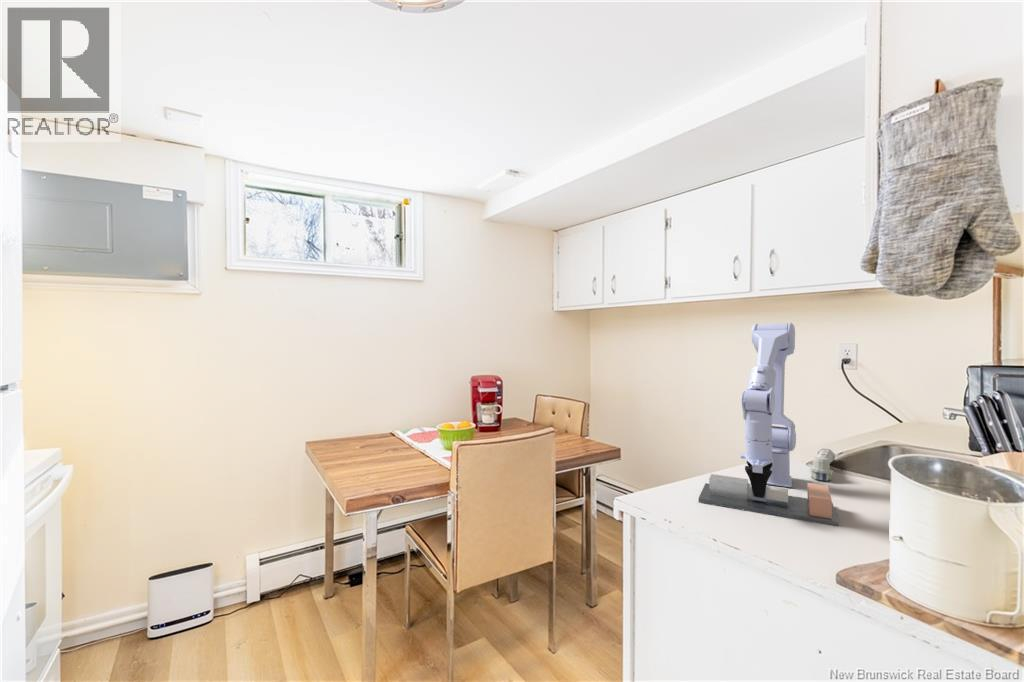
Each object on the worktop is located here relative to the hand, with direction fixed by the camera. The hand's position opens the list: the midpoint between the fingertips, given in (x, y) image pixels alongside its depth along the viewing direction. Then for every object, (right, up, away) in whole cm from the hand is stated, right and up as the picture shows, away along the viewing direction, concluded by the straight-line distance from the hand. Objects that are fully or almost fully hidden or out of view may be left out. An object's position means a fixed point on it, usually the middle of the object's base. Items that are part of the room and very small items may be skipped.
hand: (759, 493), depth 107 cm
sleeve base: (+1, -2, 0) cm, 3 cm away
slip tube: (-2, -1, +1) cm, 2 cm away
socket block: (+10, -1, -6) cm, 12 cm away
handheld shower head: (+33, -2, +23) cm, 40 cm away
